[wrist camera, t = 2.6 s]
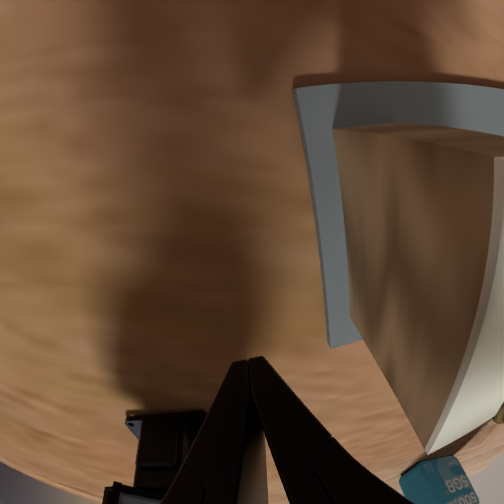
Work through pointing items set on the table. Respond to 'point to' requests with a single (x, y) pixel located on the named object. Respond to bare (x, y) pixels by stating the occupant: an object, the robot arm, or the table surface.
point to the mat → (365, 113)
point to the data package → (438, 483)
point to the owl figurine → (499, 415)
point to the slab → (428, 267)
